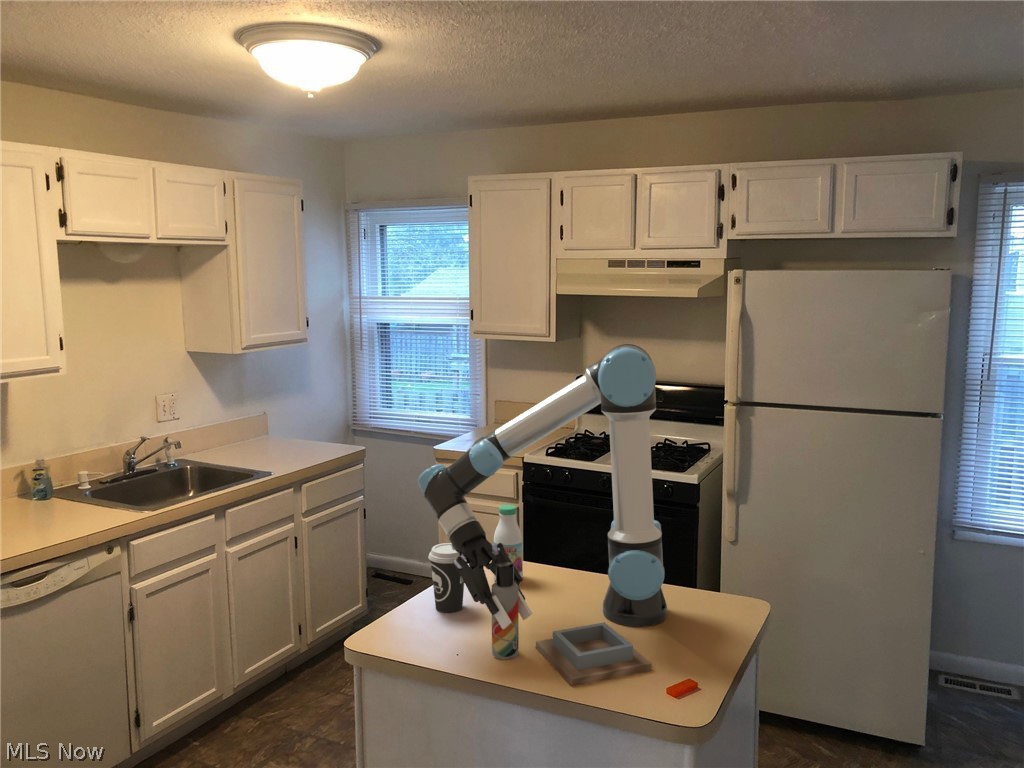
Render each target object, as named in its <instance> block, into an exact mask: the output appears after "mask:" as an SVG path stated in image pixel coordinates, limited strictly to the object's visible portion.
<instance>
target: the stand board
mask: <svg viewBox="0 0 1024 768" xmlns="http://www.w3.org/2000/svg"><path fill="white" fill-rule="evenodd" d="M572 645H573V646H575V647H576V648H577V649H578V650H579V651H580V652H581V653H582V652H587V651H593V650H598V649H603V648H609V647H611V646H610V645H609V644H608V643H607V642H606V641H604V640H603V639H597V640H591V641H586V642H580V643H575V644H572ZM535 650H537V651H538V652H539V654H540V655H541V657H543V658H544V659H545V660H546V661H547V663H549V664H550V666H552V667H553V668H554V670H555V671H556V672H557V673H558V674H559V675H560V676H561V677H562V678H563V679H564V680H565V681H566V683H568V685H569V686H570V687H571V688H573V687H577V686H582V685H587V684H592V683H597V682H601V681H607V680H611V679H616V678H621V677H622V678H623V677H625V676H630V675H635V674H641V673H645V672H650V671H653V670H652V669H653V668H652V667H653V664H652V662H651V661H649V660H648V659H647V657H645V656H643V655H642V654H641V653H640V652H638V650H636V648H634V647H633V660H629V661H624V662H619V663H614V664H609V665H604V666H599V667H594V668H589V669H584V670H579V671H578V670H577V669H576V668H575V667H574V666H573V665H572V664H571V663H570V662H569V661H568V660H567V659H566V658H565V657H564V656H563V655H562V654H561V653H560V652H559V651H558V650H557V649H556V648H555V647H554V646H553V638H548V639H543V640H537V641H535Z"/></svg>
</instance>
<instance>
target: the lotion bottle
mask: <svg viewBox="0 0 1024 768" xmlns="http://www.w3.org/2000/svg"><path fill="white" fill-rule="evenodd" d="M490 590H491V593H492V596H491V597H493V596H494V595H496V596H497V598H498V600H499V601H500V603H501V605H502V606H503V608H504V610H505V612H506V613H507V615H508V617H509V618H510V620H511V622H512V623H511V624H510V625H509V626H507V627H506V628H505V629H502V628H501V626H500V624H499V622H498V621H497V619H496V617H495V615H492V614H491V652H492V653H491V654H492V656H493V657H494V658H496V659H499V660H511V659H513V658H516V657H517V656H518V655H519V649H520V648H519V642H520V641H519V639H520V637H519V623H520V622H519V617H520V614H519V609H518V585H517V584H516V583H515V582H514V565H513V563H511V562H502V563H499V564H497V565H496V581H495V582H493V584H492V585H491V588H490Z"/></svg>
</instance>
